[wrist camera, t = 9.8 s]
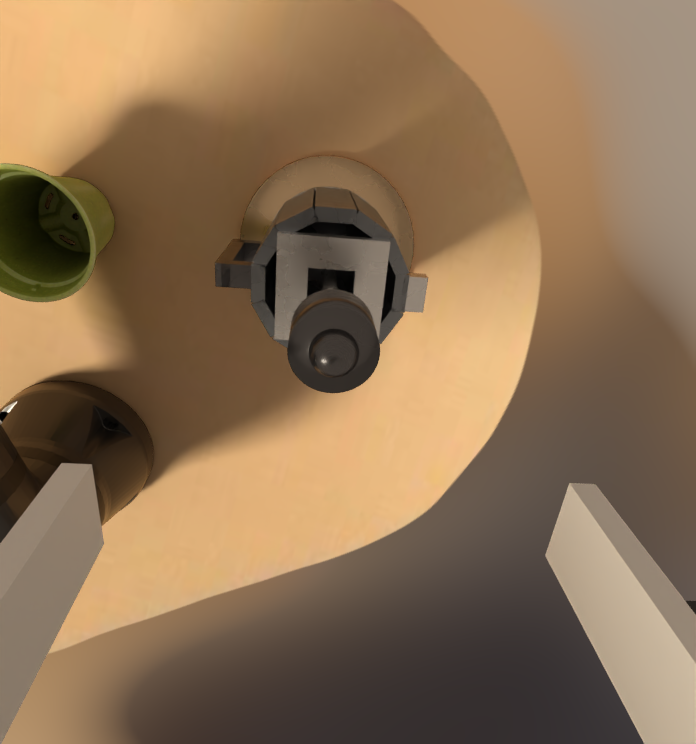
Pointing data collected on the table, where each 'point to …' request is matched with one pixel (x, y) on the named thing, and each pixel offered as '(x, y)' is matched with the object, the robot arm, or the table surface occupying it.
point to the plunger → (332, 327)
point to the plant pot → (49, 233)
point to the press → (324, 243)
